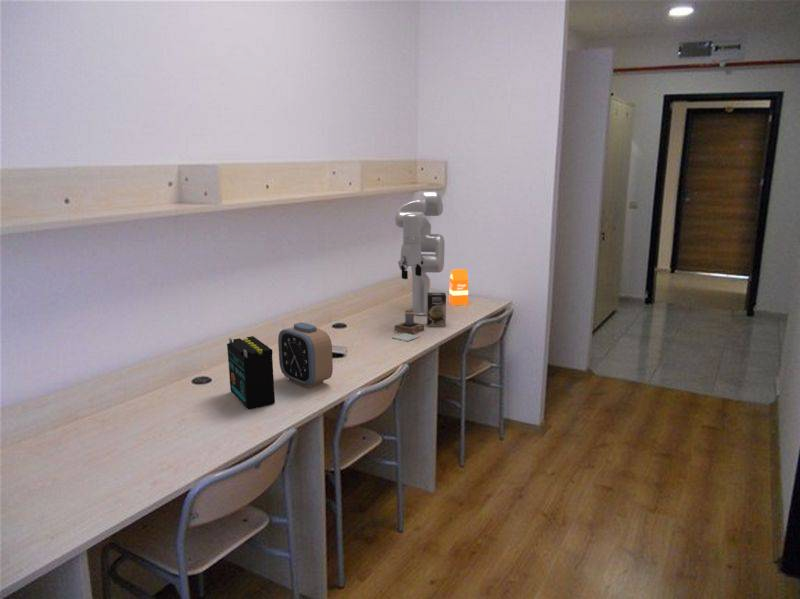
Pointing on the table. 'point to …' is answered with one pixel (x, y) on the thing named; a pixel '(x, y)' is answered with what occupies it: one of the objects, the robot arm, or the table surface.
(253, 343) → the battery
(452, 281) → the orange juice
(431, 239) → the robot arm
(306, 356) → the alarm clock
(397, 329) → the socket block
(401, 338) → the mat
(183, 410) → the table surface
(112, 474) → the table surface
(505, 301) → the table surface
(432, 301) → the coffee box
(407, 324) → the plug
